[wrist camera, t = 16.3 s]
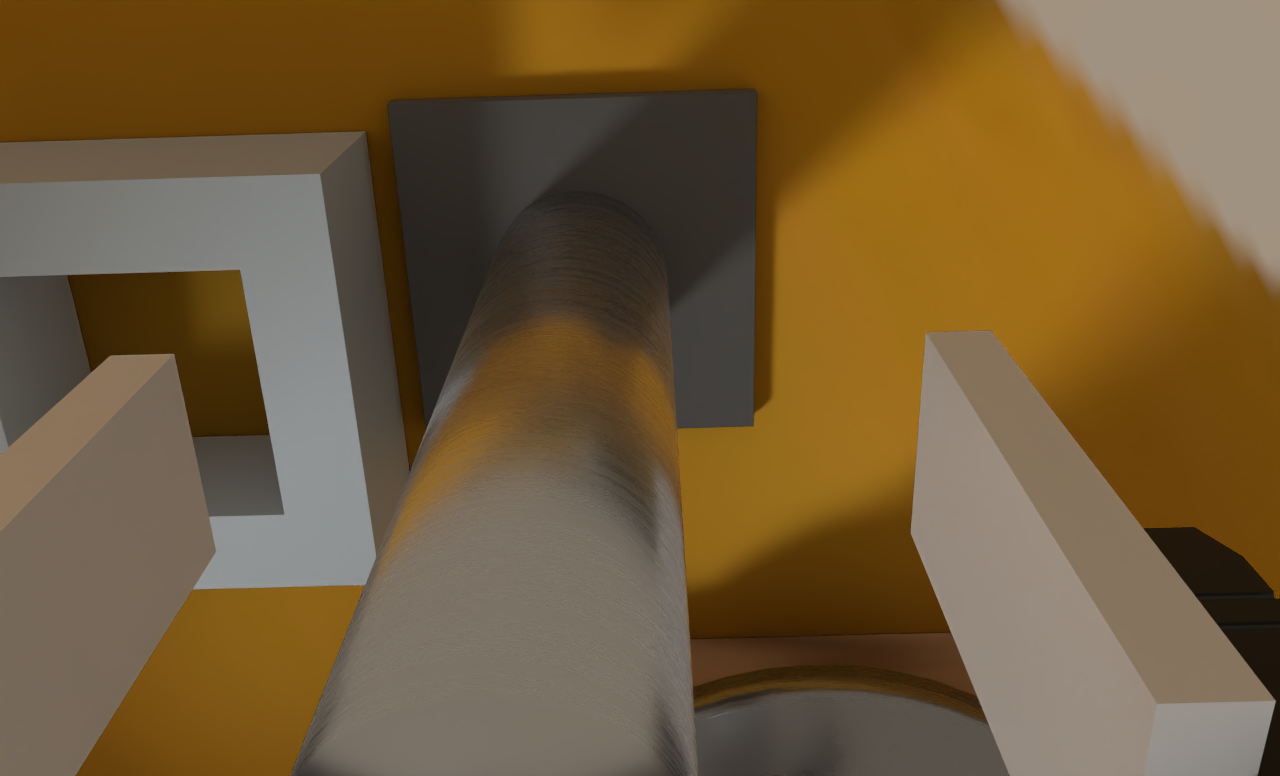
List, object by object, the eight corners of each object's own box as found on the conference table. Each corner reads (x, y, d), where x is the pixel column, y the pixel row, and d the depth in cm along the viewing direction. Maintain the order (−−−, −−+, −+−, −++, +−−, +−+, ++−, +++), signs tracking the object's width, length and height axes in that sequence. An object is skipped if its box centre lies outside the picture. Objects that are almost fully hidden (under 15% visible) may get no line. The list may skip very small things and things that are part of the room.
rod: (488, 191, 19) (240, 699, 7) (668, 191, 19) (708, 701, 7) (498, 357, 20) (297, 1023, 9) (666, 357, 20) (699, 1023, 9)
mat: (430, 425, 21) (426, 434, 21) (391, 99, 19) (387, 104, 19) (751, 416, 21) (753, 426, 21) (754, 88, 19) (756, 92, 19)
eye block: (52, 505, 22) (-32, 594, 19) (-48, 143, 19) (-163, 188, 17) (412, 496, 22) (380, 584, 19) (365, 131, 19) (319, 174, 16)
